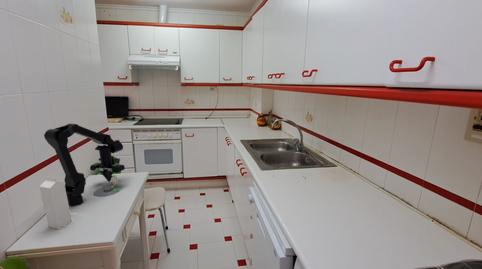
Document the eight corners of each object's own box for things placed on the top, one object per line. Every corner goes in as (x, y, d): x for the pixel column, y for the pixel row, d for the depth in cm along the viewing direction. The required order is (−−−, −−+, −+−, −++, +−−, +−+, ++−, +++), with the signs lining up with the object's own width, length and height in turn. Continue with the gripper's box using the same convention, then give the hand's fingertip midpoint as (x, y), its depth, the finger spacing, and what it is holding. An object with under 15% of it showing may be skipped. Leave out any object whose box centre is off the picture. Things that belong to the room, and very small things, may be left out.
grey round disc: (87, 197, 129) (86, 195, 128) (106, 185, 142) (106, 183, 142) (109, 199, 126) (109, 197, 125) (127, 187, 139) (127, 186, 138)
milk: (61, 219, 108) (52, 173, 104) (72, 221, 107) (63, 175, 102) (47, 227, 103) (37, 179, 98) (58, 229, 101) (48, 180, 96)
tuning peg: (108, 192, 131) (106, 182, 130) (101, 191, 132) (100, 181, 131) (120, 185, 140) (118, 175, 139) (114, 184, 141) (112, 175, 139)
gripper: (129, 152, 141) (132, 177, 145) (102, 150, 145) (106, 174, 149) (116, 158, 131) (119, 185, 134) (87, 156, 135) (91, 182, 138)
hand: (109, 181), depth 139 cm, fingers closed
